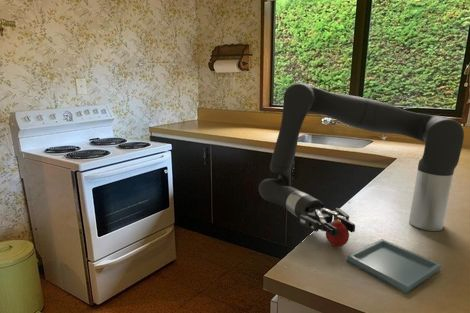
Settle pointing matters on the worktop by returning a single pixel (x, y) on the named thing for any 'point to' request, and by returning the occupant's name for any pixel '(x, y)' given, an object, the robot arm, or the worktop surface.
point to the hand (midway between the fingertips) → (345, 230)
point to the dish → (394, 265)
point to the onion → (338, 235)
